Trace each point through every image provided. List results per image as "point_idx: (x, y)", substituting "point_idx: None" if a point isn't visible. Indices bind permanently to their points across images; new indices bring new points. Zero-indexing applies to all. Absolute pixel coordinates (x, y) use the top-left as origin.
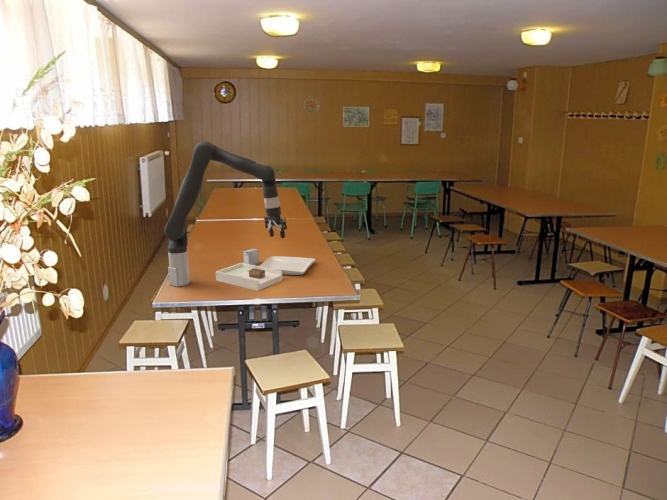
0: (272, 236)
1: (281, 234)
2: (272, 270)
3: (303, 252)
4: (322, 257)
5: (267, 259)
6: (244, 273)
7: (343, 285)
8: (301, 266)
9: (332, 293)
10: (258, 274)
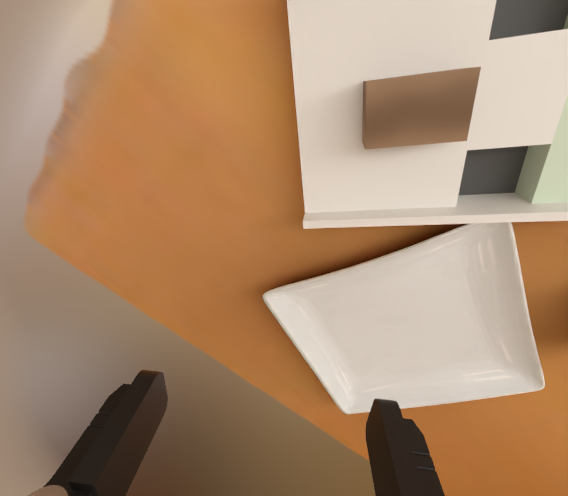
0: (370, 411)
1: (111, 422)
2: (367, 216)
3: (458, 457)
4: (365, 438)
5: (534, 350)
6: (540, 102)
7: (110, 280)
8: (358, 358)
9: (57, 201)
10: (371, 80)
